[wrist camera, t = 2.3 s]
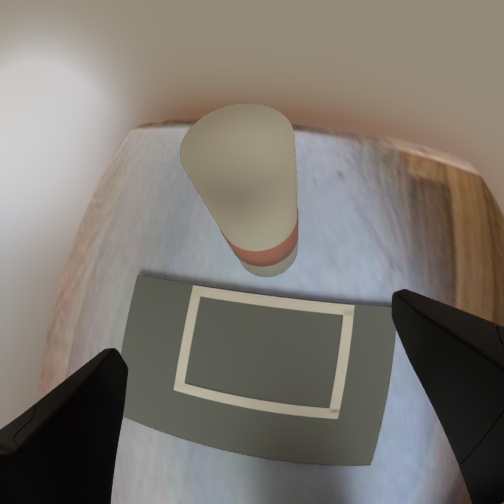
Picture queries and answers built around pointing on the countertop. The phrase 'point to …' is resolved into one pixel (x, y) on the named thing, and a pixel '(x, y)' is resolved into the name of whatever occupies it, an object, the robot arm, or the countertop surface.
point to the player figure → (248, 182)
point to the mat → (258, 371)
